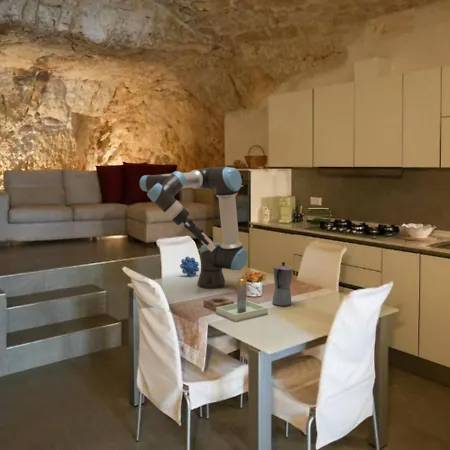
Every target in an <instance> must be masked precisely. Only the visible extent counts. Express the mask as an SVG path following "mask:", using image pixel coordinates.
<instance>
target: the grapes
mask: <svg viewBox="0 0 450 450" xmlns="http://www.w3.org/2000/svg"><path fill="white" fill-rule="evenodd" d="M199 264H200V263H199V262H198V261H196V259H195V258H194V257H189V256H185V258H182V259H181V264H180V265H179V267H180V269H181V272H182V273H183V274H184V275H186V276H187V277H191V276H194V277H195V276H196V275H197V273H198V272H199V271H200V267H199Z"/></svg>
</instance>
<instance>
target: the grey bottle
mask: <svg viewBox="0 0 450 450" xmlns="http://www.w3.org/2000/svg"><path fill="white" fill-rule="evenodd" d="M236 280H237V281H236V282H237V284H236V285H237V288H236V290H237V296H236V297H237V298H236V299H237V301H236V303H237V313H244V312H246V301H247V278H245V277H239V278H237V279H236Z"/></svg>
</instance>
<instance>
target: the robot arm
mask: <svg viewBox="0 0 450 450" xmlns="http://www.w3.org/2000/svg"><path fill="white" fill-rule="evenodd" d="M242 180H243V179H242V176H241V173H240V171H239V170H238V169H236V168H234V167H229V166H222V167H221V166H220V167H219V166H218V167H216V166H215V167H206V168H205V167H204V168H198V169H193V170H191V171H190V172H181V171H178V170H175V171H173V172H172V173H164V174H155V175H154V174H153V175H150V174H147V175H143V176H141V178H140V179H139V188H140V189H141V191H143V192H147V193H146V195H147V197H148V198H149V199H150V200H151V202H152V203H154V204H155V205H156V206H157V207H158V208H159V209H160V210H161V211H162V213H164V214H165V216H166V217H168V218H169V219H172V221H173V223H175V225H177V226H180V225H181V224H182V223H183V227H184V228H185V229H187V230H188V231H189V232H190V233H192V234H193V236H194V237H195V238H197V242H198V243H202V245H201V247H200V273H199V276H198V280H197V286H198V288H201V289H208V290H209V289H210V290H211V289H219V288H224V287H226V279H225V276H224V273H223V269H225V270H231V271H242V270H243V269H244V268H245V266H246V265H247V262H248V258H249V257H248V254H249V253H248V251H247V249H245V247H244V248H243V243H242V242H241V241H240V236H239V226H238V225H239V224H238V212H237V201H236V196H237V195H238V193H239V190H240V189H241V187H242V183H243V181H242ZM188 188H192V189H194V190H197V189H198V190H199V189H201V190H202V189H203V190H209V191H214V194H215V196H216V197H217V198H218V205H219V206H218V208H219V218H220V229H221V236H222V237H221V239H222V242H213V241H212V239H211V238H209V237H208V236H207V235H206V234H205V233H204V230H203V229H200V228H199V227H198V226H197V225H196V224H195V223H194V221H193V220H192V219H191V218H190V219H189V216H190V212H189V211H188V210H187V209H186V208H185V207H184V206H183V205H182V204H181V203H180V202H179V200H177V199H176V198H175V197H176V195H177V194H178V193H179V192H180V191H181V190H182V189H188Z"/></svg>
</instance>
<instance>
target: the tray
mask: <svg viewBox="0 0 450 450" xmlns="http://www.w3.org/2000/svg"><path fill="white" fill-rule="evenodd" d="M268 312H269V307H267V306H264V305H261V304H259V303H256V302H253V301H249V300H246V312H244V313H237V302H235V303H234V304H230V305H225V306H220V307H216V311H215V314H216V315H217V316H220V317H223V318H225V319H227V320H230V321H232V322H234V323H237V322H241V321H246V320H249V319H254V318H257V317H263V316H267V315H268V314H269V313H268Z"/></svg>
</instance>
